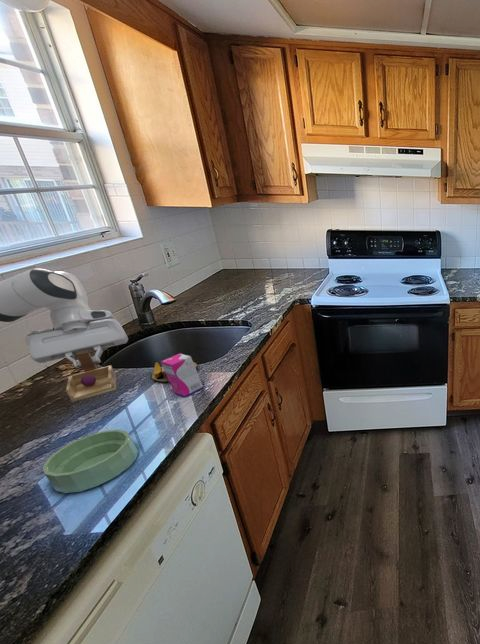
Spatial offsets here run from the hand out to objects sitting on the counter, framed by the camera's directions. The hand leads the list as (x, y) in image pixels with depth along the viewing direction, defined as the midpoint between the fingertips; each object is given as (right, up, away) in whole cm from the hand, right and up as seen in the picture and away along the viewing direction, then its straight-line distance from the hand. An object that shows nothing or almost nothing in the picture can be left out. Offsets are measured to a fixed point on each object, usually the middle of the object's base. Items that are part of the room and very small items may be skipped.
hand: (88, 364), depth 103 cm
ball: (+2, -4, -2) cm, 5 cm away
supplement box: (+22, -9, +9) cm, 26 cm away
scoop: (+3, -6, -1) cm, 7 cm away
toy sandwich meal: (+11, -5, +19) cm, 23 cm away
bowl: (+22, -23, -20) cm, 37 cm away
